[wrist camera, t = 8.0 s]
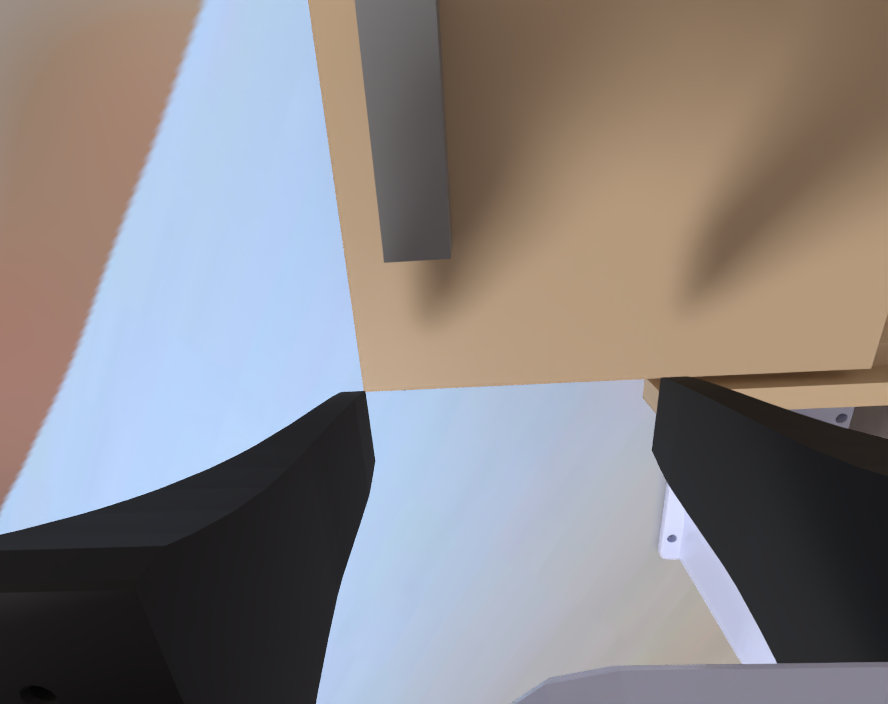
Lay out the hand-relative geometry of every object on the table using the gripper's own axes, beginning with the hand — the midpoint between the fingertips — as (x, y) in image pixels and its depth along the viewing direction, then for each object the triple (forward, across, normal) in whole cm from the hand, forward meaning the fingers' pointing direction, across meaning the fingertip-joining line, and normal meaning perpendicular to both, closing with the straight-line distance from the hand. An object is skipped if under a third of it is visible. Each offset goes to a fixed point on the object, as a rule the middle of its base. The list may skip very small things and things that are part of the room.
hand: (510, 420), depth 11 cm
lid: (+4, -3, -7) cm, 9 cm away
